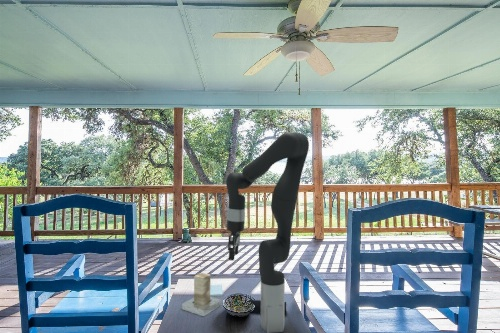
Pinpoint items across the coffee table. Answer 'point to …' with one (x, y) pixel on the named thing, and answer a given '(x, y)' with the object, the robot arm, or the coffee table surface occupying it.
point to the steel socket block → (199, 309)
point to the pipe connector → (258, 306)
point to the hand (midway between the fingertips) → (233, 256)
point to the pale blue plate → (216, 290)
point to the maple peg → (202, 289)
